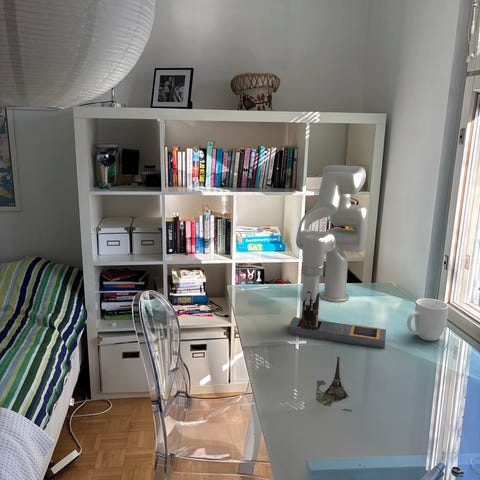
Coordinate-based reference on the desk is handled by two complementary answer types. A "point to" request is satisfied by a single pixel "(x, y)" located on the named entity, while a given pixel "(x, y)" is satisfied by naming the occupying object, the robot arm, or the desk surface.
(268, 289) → the desk surface
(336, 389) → the eiffel tower figurine
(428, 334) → the mug
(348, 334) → the holder
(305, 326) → the deodorant
